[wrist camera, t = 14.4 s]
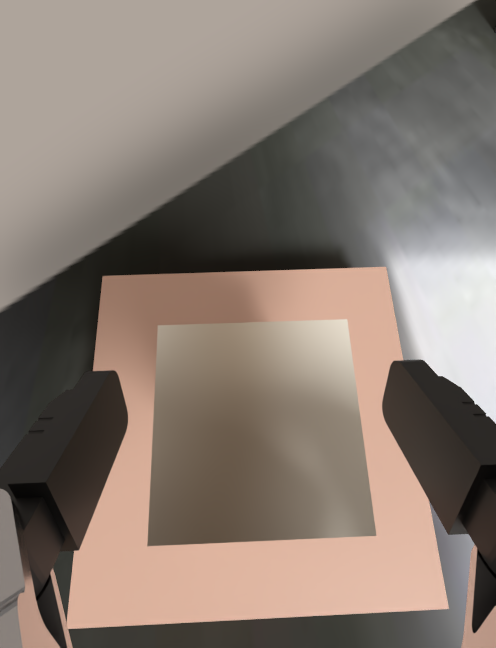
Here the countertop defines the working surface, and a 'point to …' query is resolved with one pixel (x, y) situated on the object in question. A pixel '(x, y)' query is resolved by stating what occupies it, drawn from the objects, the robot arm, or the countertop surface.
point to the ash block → (257, 435)
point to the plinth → (258, 556)
